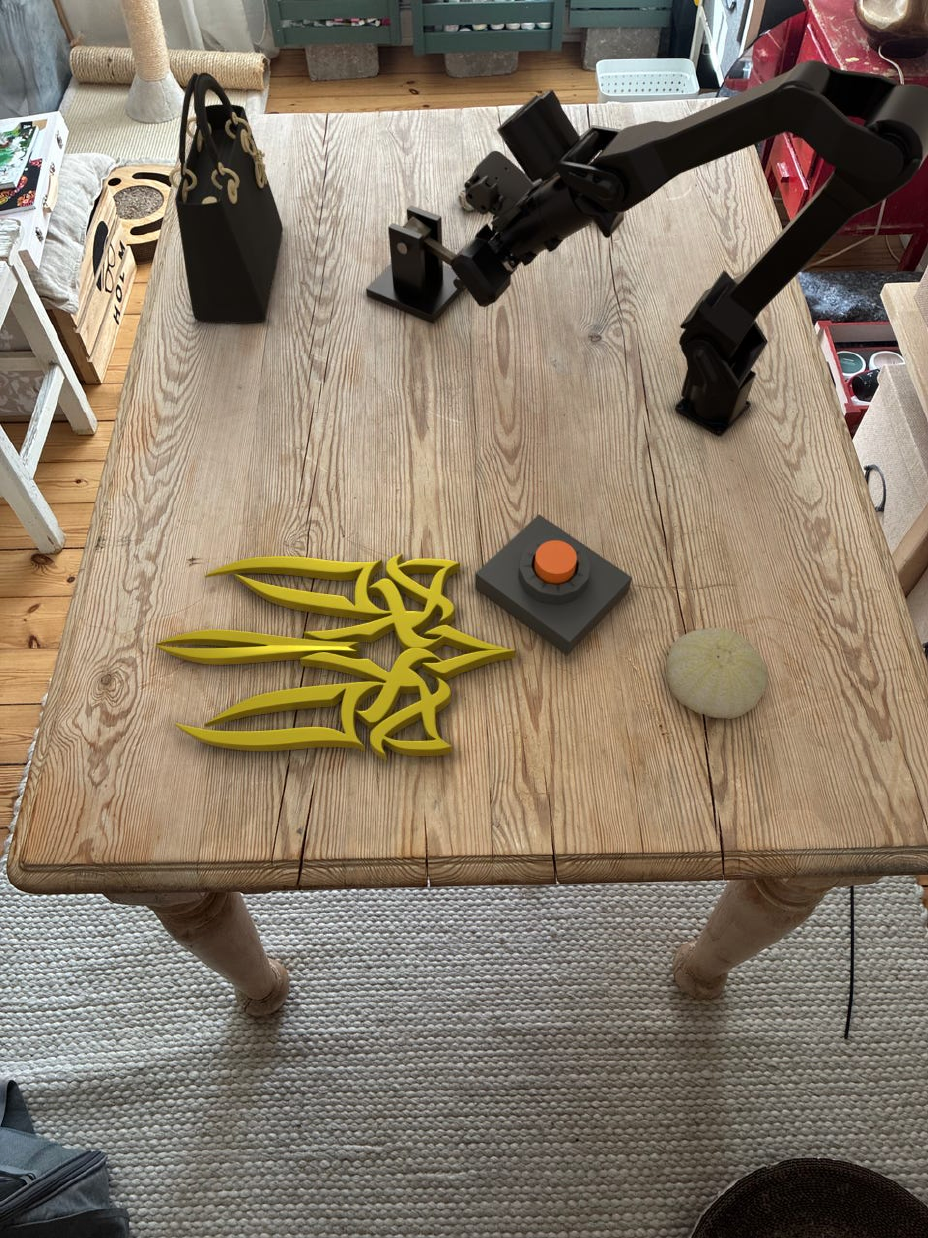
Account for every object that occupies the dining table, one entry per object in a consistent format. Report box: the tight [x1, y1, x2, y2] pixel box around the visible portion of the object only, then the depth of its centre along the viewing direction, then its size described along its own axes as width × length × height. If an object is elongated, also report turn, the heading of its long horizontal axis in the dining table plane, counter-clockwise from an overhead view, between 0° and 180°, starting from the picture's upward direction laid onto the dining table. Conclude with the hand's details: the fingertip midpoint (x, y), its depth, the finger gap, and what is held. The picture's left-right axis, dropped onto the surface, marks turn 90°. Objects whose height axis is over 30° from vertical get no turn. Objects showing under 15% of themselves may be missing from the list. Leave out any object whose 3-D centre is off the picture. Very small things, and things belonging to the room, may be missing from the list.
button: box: [535, 540, 577, 584], centre depth 91 cm, size 4×4×2 cm
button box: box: [474, 514, 633, 657], centre depth 93 cm, size 12×10×4 cm
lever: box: [402, 217, 465, 290], centre depth 112 cm, size 10×6×2 cm, turn 59°
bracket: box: [365, 205, 466, 324], centre depth 115 cm, size 10×9×10 cm
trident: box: [155, 553, 517, 762], centre depth 90 cm, size 22×2×35 cm
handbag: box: [168, 72, 284, 324], centre depth 110 cm, size 21×9×25 cm, turn 179°
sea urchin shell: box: [665, 626, 769, 720], centre depth 88 cm, size 9×8×8 cm
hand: (468, 264), depth 112 cm, fingers closed, pressing on lever
